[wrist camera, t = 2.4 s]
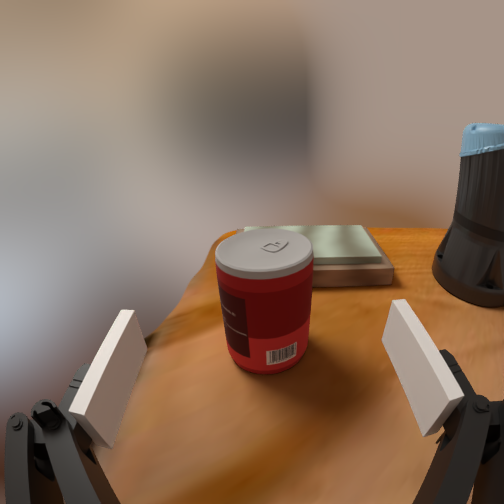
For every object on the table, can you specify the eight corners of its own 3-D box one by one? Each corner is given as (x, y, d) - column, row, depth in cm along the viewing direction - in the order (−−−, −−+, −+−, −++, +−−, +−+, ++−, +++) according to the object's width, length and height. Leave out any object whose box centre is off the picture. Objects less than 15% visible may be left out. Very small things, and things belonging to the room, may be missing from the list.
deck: (365, 240, 49) (367, 222, 47) (391, 284, 36) (395, 261, 34) (238, 242, 51) (236, 223, 49) (226, 288, 38) (223, 264, 36)
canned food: (318, 333, 29) (326, 235, 24) (285, 388, 23) (288, 281, 18) (254, 314, 33) (248, 222, 28) (213, 359, 27) (194, 258, 22)
